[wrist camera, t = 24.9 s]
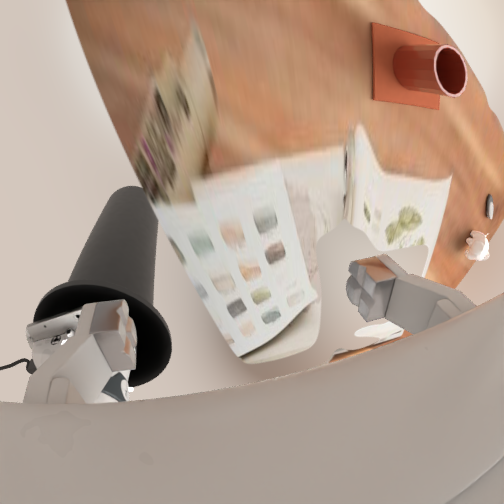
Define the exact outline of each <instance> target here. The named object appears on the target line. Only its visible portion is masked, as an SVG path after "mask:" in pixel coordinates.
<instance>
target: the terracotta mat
mask: <svg viewBox="0 0 504 504" xmlns="http://www.w3.org/2000/svg"><path fill="white" fill-rule="evenodd" d="M372 42H373V100H379V101H387V102H395V103H402V104H408V105H415V106H421V107H426V108H432V109H437V110H439V104H440V95H436V94H430V93H423V92H416V91H410V90H407V89H405V88H404V87H403V86H402V85H401V84H400V83H399V82H398V80H397V79H396V77H395V74H394V71H393V56H394V54H395V52H396V50H397V49H398V48H399V47H401V46H405V45H419V44H439V43H437V42H435V41H432V40H429V39H427V38H424V37H421V36H418V35H415V34H412V33H409V32H405V31H402V30H399V29H395V28H392V27H388V26H385V25H381V24H377V23H372Z"/></svg>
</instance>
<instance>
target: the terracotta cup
mask: <svg viewBox="0 0 504 504" xmlns="http://www.w3.org/2000/svg"><path fill="white" fill-rule="evenodd" d="M393 71H394V74H395V77H396V79H397V80H398V82H399V83H400V84H401V85H402V86H403V87H404V88H405V89H407V90H410V91H416V92H423V93H430V94H436V95H442V96H448V97H453V98H455V97H458V96H460V95H461V94H462V93H463V91H464V90H465V88H466V84H467V68H466V64H465V61H464V59H463V57H462V55H461V54H460V52H459V51H458V50H457V49H456V48H455V47H453V46H451V45H448V44H419V45H405V46H401V47H399V48H398V49H397V50H396V52H395V54H394V56H393Z"/></svg>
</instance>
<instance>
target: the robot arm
mask: <svg viewBox="0 0 504 504" xmlns="http://www.w3.org/2000/svg"><path fill="white" fill-rule="evenodd" d="M349 272H350V274H351V276H350V277H349V279H348V280H347V285H346V291H347V296H348V298H349V300H350V301H351V303H352V304H354V305H356V306H358V312H359V313H360V314H361V316H362V317H363V318H364V320H365V321H366V322H369V321H373V320H377V319H380V318H384V317H385V319H387V320H389V321H391V322H392V323H394V324H396V325H398V326H399V327H401V328H403V329H405V330H406V331H408V332H410V333H412V334H413V335H411V336H408V337H406V338H403V339H400V340H398V341H395V342H393V343H390V344H387V345H384V346H381V347H379V348H376V349H373V350H370V351H367V352H364V353H361V354H358V355H355V356H352V357H348V358H345V359H342V360H339V361H335V362H332V363H329V364H325V365H322V366H318V367H315V368H311V369H307V370H304V371H300V372H297V373H292V374H288V375H284V376H280V377H276V378H272V379H267V380H263V381H259V382H254V383H250V384H244V385H239V386H234V387H229V388H224V389H218V390H213V391H207V392H200V393H194V394H187V395H180V396H172V397H165V398H156V399H146V400H136V401H129V391H133V387H128V378H129V373H130V370H133V369H136V353H137V347H136V345H137V336H136V329H135V325H134V322H133V319H132V318H130V317H129V316H128V313H129V308H128V305H127V303H126V301H125V300H116V301H107V302H98V303H91V304H85V305H84V306H81V307H78V308H75V309H72V310H69V311H66V312H63V313H60V314H57V315H54V316H51V317H48V318H45V319H42V320H39V321H36V322H33V323H30V324H28V325H27V327H26V336H27V341H28V343H29V345H30V347H31V349H32V358H33V359H31V361H29V360H28V359H25V358H24V359H20V360H18V361H16V362H14V363H12V364H9V365H6V366H2V367H0V370H3V369H7V368H10V367H13V366H15V365H17V364H19V363H21V362H27V366H26V370H27V371H28V372H29V373H30V374H32V375H31V376H30V378H29V381H28V385H27V389H26V392H25V396H24V400H23V403H14V402H1V401H0V504H504V293H502V294H500V295H498V296H496V297H494V298H493V299H491V300H489V301H487V302H485V303H483V304H481V305H479V306H476V305H475V304H474V303H473V302H472V301H471V300H469V299H468V298H467V297H466V296H465V295H464V294H463V293H462V292H461V291H458V290H456V289H453V288H450V287H447V286H445V285H442V284H439V283H436V282H433V281H431V280H428V279H425V278H422V277H419V276H416V275H414V274H408V273H406V271H404V270H403V269H402V268H401V267H400V266H399V265H398V264H397V263H396V262H394V261H393V260H392V259H391V258H390V257H389V256H388V255H386V254H382V255H377V256H374V257H370V258H365V259H361V260H355V261H352V262H351V263H350V265H349ZM78 315H80V316H78Z"/></svg>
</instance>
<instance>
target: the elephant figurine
mask: <svg viewBox="0 0 504 504" xmlns="http://www.w3.org/2000/svg"><path fill="white" fill-rule="evenodd" d="M488 234H489V233H488ZM488 234H486V235H484V234H483V233H482V232H479V231H471V236H472V237H473V238H467V239H466V242H467V243H468V245H469V246H470V249H469V251H468V250H465V256H466V257H467V258H468V259H472V260H477V261H479V260H486V259H488V258H489V256H490V253H489V252H488V248H489V243H488V240H487V238H486V236H487V235H488ZM467 252H468V253H467Z"/></svg>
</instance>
